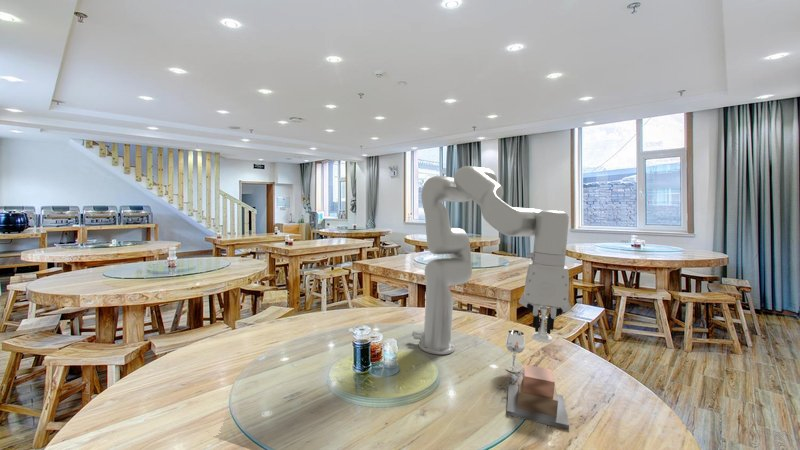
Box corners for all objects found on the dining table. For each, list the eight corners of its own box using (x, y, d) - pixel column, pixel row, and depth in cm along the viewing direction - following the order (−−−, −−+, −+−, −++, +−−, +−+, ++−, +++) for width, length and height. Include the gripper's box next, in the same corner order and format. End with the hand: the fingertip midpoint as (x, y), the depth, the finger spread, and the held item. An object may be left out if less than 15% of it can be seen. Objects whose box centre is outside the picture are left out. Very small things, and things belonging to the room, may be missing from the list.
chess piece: (554, 344, 88) (557, 304, 87) (533, 341, 89) (536, 302, 88) (549, 336, 93) (553, 299, 92) (529, 334, 94) (533, 297, 93)
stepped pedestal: (506, 414, 88) (509, 379, 87) (508, 387, 101) (511, 356, 100) (568, 429, 83) (572, 392, 83) (562, 398, 97) (565, 366, 96)
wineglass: (523, 368, 114) (526, 331, 113) (521, 376, 108) (524, 337, 107) (505, 364, 116) (507, 328, 115) (502, 371, 111) (505, 333, 110)
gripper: (515, 258, 89) (509, 330, 90) (586, 265, 83) (579, 342, 85) (515, 254, 96) (510, 321, 97) (581, 261, 91) (574, 331, 92)
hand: (542, 330), depth 91 cm, fingers closed on chess piece
